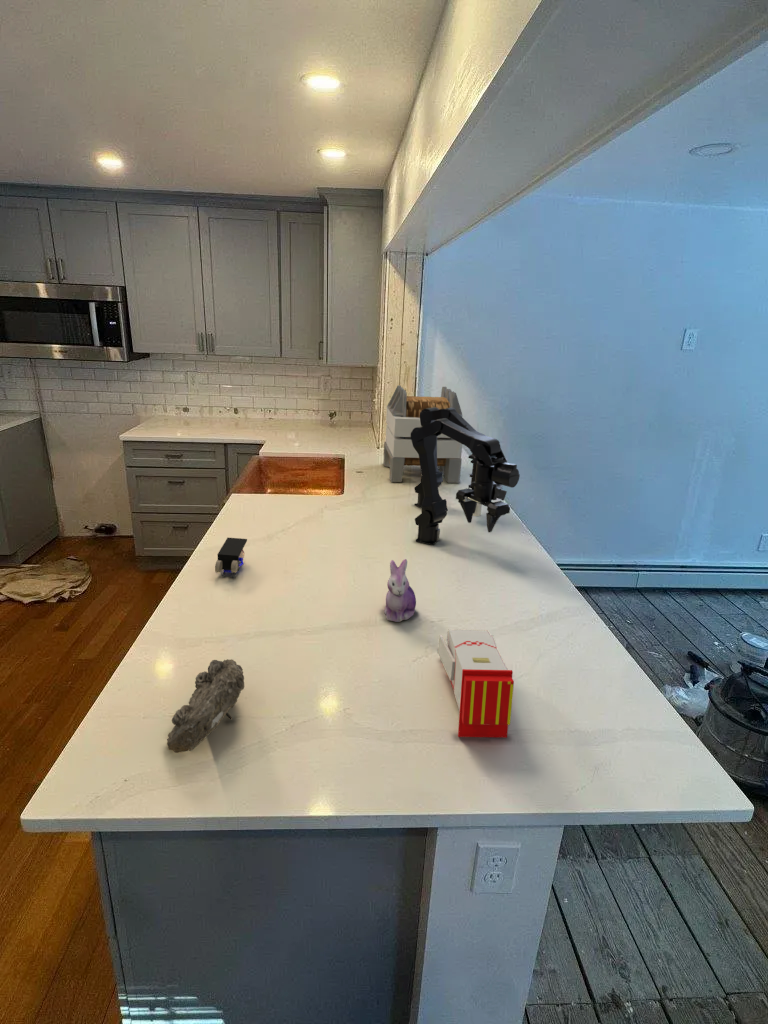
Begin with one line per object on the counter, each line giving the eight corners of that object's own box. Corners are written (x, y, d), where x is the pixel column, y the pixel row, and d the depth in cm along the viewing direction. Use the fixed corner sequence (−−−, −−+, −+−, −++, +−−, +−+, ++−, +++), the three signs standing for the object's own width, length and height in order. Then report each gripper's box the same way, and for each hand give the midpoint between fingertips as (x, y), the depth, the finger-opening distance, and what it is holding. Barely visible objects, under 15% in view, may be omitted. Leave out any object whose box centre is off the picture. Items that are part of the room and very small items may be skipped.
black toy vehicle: (238, 584, 162) (249, 557, 175) (236, 562, 158) (247, 536, 172) (215, 584, 161) (227, 556, 175) (212, 561, 158) (225, 535, 171)
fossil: (192, 660, 117) (244, 628, 112) (224, 691, 120) (276, 661, 115) (142, 746, 98) (202, 712, 93) (182, 779, 101) (242, 748, 96)
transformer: (382, 463, 289) (386, 382, 275) (445, 464, 293) (451, 384, 279) (390, 482, 257) (394, 392, 243) (460, 483, 261) (468, 394, 247)
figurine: (392, 627, 141) (395, 572, 136) (374, 608, 149) (376, 556, 144) (425, 619, 145) (429, 566, 140) (405, 601, 154) (408, 550, 149)
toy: (488, 613, 130) (523, 677, 101) (484, 667, 133) (517, 744, 104) (435, 612, 130) (455, 676, 101) (432, 666, 133) (451, 743, 103)
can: (481, 513, 215) (483, 503, 214) (479, 516, 212) (480, 506, 210) (471, 511, 216) (472, 501, 215) (468, 515, 213) (469, 504, 212)
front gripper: (525, 484, 170) (519, 532, 176) (482, 469, 185) (478, 514, 190) (499, 489, 164) (493, 539, 170) (456, 473, 179) (452, 519, 184)
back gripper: (488, 482, 197) (483, 523, 202) (510, 471, 211) (505, 510, 217) (460, 475, 203) (456, 516, 208) (484, 465, 217) (479, 504, 223)
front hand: (479, 527), depth 178 cm, fingers open, 9 cm apart
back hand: (475, 511), depth 214 cm, fingers closed on can, 4 cm apart
